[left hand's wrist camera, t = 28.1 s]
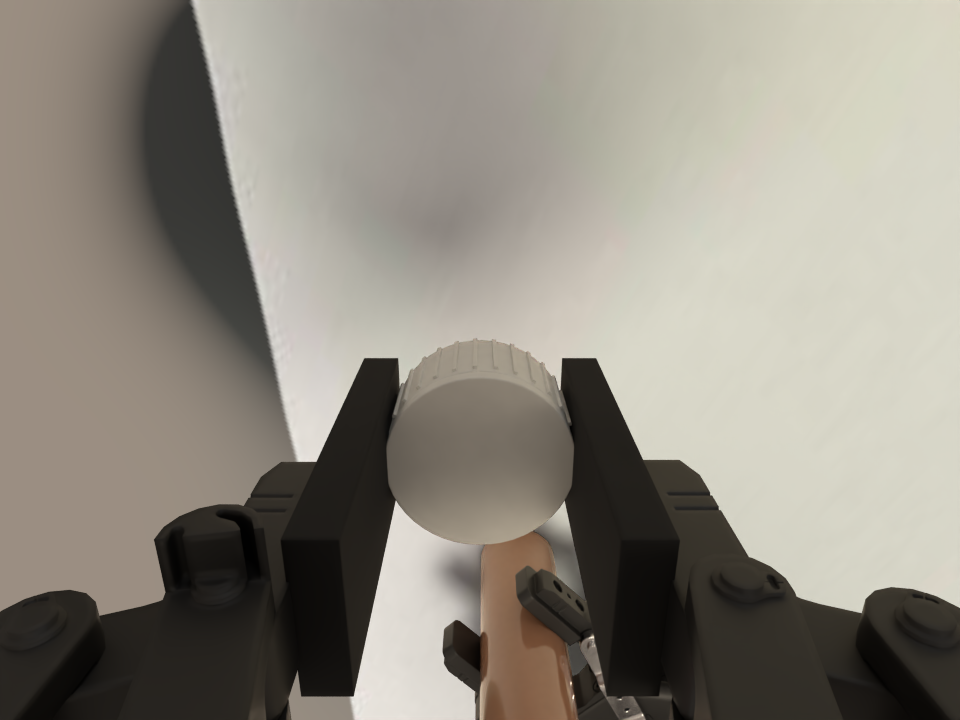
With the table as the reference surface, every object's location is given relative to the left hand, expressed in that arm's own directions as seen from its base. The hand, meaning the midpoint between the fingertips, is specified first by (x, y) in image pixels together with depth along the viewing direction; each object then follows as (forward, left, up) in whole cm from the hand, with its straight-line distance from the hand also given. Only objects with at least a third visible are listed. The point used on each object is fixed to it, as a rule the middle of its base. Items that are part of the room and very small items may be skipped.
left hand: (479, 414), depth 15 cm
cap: (0, 0, +2) cm, 2 cm away
